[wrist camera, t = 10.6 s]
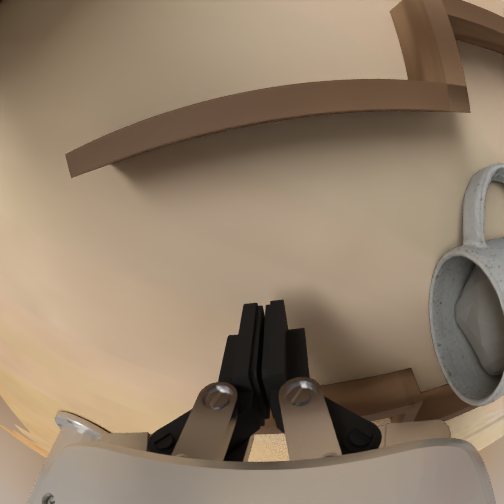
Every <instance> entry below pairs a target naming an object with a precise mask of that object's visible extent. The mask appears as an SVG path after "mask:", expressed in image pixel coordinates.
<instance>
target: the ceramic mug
mask: <svg viewBox="0 0 504 504" xmlns="http://www.w3.org/2000/svg"><path fill="white" fill-rule="evenodd" d="M491 181H498V182H502V183H503V184H504V164H502V163H497V164H493V165H490V166H488V167H486V168H484V169H482V170H480V171H478V172H477V173H476V174H475V175H474V176H473V177H472V179H471V181H470V183H469V184H468V187H467V189H466V193H465V196H464V202H463V227H462V229H463V245H462V246H460V247H457V248H454V249H451V250H450V251H448V252H447V253H446V254H444V255H443V256H442V258H441V259H440V260H439V262H438V264H437V265H436V268H435V271H434V273H433V277H432V282H431V287H430V296H429V319H430V324H431V325H430V326H431V334H432V340H433V345H434V349H435V351H436V355H437V358H438V362H439V364H440V366H441V369H442V371H443V374H444V376H445V378H446V380H447V382H448V383H449V385H450V386H451V388H452V389H453V391H454V392H455V393H456V395H457V396H458V397H459V398H460V399H461V400H463V401H464V402H466V403H468V404H470V405H473V406H484V405H487V404H489V403H492V402H494V401H495V400H497V399H498V398H500V397H501V396H502V395H504V238H499V239H492V240H488V241H485V239H484V235H483V233H484V208H485V197H486V192H487V188H488V185H489V184H490V182H491Z"/></svg>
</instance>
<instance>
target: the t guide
mask: <svg viewBox="0 0 504 504" xmlns="http://www.w3.org/2000/svg"><path fill="white" fill-rule="evenodd" d="M390 13H391V16H392V19H393V22H394V25H395V28H396V31H397V35H398V38H399V42H400V46H401V49H402V53H403V57H404V61H405V66H406V70H407V75H408V80H395V79H353V80H333V81H320V82H309V83H300V84H292V85H284V86H277V87H271V88H265V89H259V90H254V91H248V92H243V93H238V94H234V95H229V96H225V97H220V98H216V99H212V100H208V101H204V102H200V103H197V104H193V105H190V106H186V107H183V108H179V109H176V110H173V111H170V112H166V113H163V114H160V115H157V116H154V117H151V118H149V119H146V120H143V121H140V122H138V123H135V124H132V125H130V126H127V127H124V128H122V129H119V130H117V131H115V132H112V133H110V134H107V135H105V136H103V137H101V138H98V139H96V140H94V141H92V142H89V143H87V144H85V145H83V146H81V147H79V148H77V149H75V150H73V151H71V152H69V153H67V154H65V155H66V159H67V163H68V167H69V171H70V175H71V178H73V177H75V176H78V175H81V174H83V173H86V172H89V171H92V170H95V169H98V168H100V167H103V166H106V165H109V164H112V163H115V162H118V161H120V160H123V159H126V158H129V157H132V156H135V155H138V154H141V153H144V152H147V151H150V150H153V149H157V148H160V147H163V146H167V145H170V144H174V143H177V142H181V141H185V140H188V139H192V138H196V137H200V136H204V135H208V134H212V133H217V132H221V131H226V130H230V129H235V128H240V127H245V126H250V125H256V124H261V123H267V122H273V121H279V120H286V119H293V118H301V117H309V116H318V115H328V114H339V113H353V112H374V111H426V112H464V113H470V106H469V99H468V93H467V87H466V82H465V76H464V72H463V67H462V63H461V59H460V55H459V51H458V47H457V43H456V40H460V41H464V42H467V43H471V44H474V45H478V46H481V47H484V48H487V49H490V50H493V51H496V52H499V53H502V54H504V18H503V17H501V16H499V15H497V14H495V13H493V12H490V11H488V10H486V9H483V8H481V7H478V6H476V5H473V4H470V3H468V2H465V1H462V0H402V1H401V2H400V3H399V4H398V5H396V6H395V7H394V8H393V9H392V10H391V11H390ZM455 39H456V40H455ZM320 387H321V389H322V392H323V396H325V397H327V398H328V399H330V400H332V401H334V402H335V403H337V404H339V405H341V406H342V407H344V408H346V409H348V410H350V411H351V412H353V413H355V414H357V415H359V416H361V417H363V418H364V419H366V420H368V421H374V420H379V419H383V418H387V417H390V420H391V423H403V422H417V421H427V420H441V421H446V420H449V419H451V418H454V417H456V416H459V415H461V414H463V413H466V412H468V411H470V410H472V409H475V408H477V407H479V406H473V405H470V404H468V403H466V402H464V401H463V400H461V399H460V398H459V397H458V396H457V395H456V393H455V392H454V391H453V389H452V388H451V386H450V385H449V384H447V385H444V386H441V387H438V388H435V389H432V390H429V391H426V392H422V393H420V390H419V387H418V385H417V382H416V380H415V377H414V375H413V372H412V370H411V368H409V369H405V370H401V371H397V372H393V373H389V374H384V375H380V376H375V377H370V378H365V379H360V380H355V381H349V382H343V383H337V384H330V385H323V386H320ZM279 433H283V432H281V431H280V430H279V429H278V428H277V427H276V423H275V419H273V416H272V412H271V409H270V419H265V426H260V429H259V430H258V431H257V432H255V433H254V434H279Z"/></svg>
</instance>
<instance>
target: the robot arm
mask: <svg viewBox="0 0 504 504" xmlns="http://www.w3.org/2000/svg"><path fill="white" fill-rule="evenodd" d="M270 409H271V412H272V416H273V419H275V423H276V427H277V428H278V429H279V430H280V431H281V432H283V433H284V434H285V436H286V442H287V448H288V453H289V459H290V461H276V462H248V458H249V455H250V451H251V448H252V444H253V440H254V433H255V432H257V431H258V430H259V429H260V426H265V419H270ZM55 421H56V423H57V425H58V426H59V427H60V429H61V431H60V433H59V435H58V437H57V439H56V441H55V443H54V445H53V447H52V449H51V451H50V453H49V455H48V457H47V459H46V461H45V463H44V465H43V467H42V470H41V472H40V474H39V476H38V478H37V481H36V483H35V485H34V488H33V490H32V492H31V495H30V497H29V500H28V502H27V504H496V502H495V497H494V493H493V489H492V485H491V481H490V478H489V475H488V472H487V469H486V467H485V464H484V462H483V460H482V458H481V456H480V454H479V452H478V451H477V450H476V448H475V447H474V446H473V445H472V444H471V443H469V442H467V441H464V440H461V439H455V438H451V433H450V429H449V426H448V425H447V424H446V423H445V422H443V421H441V420H427V421H417V422H403V423H387V424H386V426H376V425H375V424H374V423H372V422H370V421H368V420H366V419H364V418H363V417H361V416H359V415H357V414H355V413H353V412H351V411H350V410H348V409H346V408H344V407H342V406H341V405H339V404H337V403H335V402H334V401H332V400H330V399H328V398H327V397H325V396H323V392H322V389H321V387H320V385H319V383H317V382H316V381H315V380H313V379H311V378H309V368H308V357H307V347H306V338H305V329H304V328H300V329H292V330H288V325H287V319H286V312H285V305H284V300H276V301H271V302H270V305H266V310H265V315H264V310H263V306H258V304H257V303H250V304H244V306H243V311H242V317H241V323H240V329H239V334H238V335H229V336H228V338H227V343H226V347H225V352H224V356H223V361H222V366H221V370H220V375H219V380H218V382H216V383H212V384H210V385H208V386H206V387H205V388H204V389H202V390H201V392H200V393H199V395H198V397H197V400H196V402H195V404H194V406H193V408H192V409H191V410H190V411H188V412H186V413H185V414H183V415H182V416H180V417H178V418H177V419H175V420H174V421H172V422H170V423H169V424H167V425H165V426H164V427H162V428H160V429H159V430H157V431H156V432H154V433H153V434H149V433H148V432H142V433H108V432H106V431H105V430H103V429H101V428H100V427H98V426H96V425H94V424H92V423H90V422H88V421H86V420H84V419H82V418H80V417H78V416H76V415H73V414H70V413H67V412H58V413H57V414H56V416H55Z"/></svg>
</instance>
